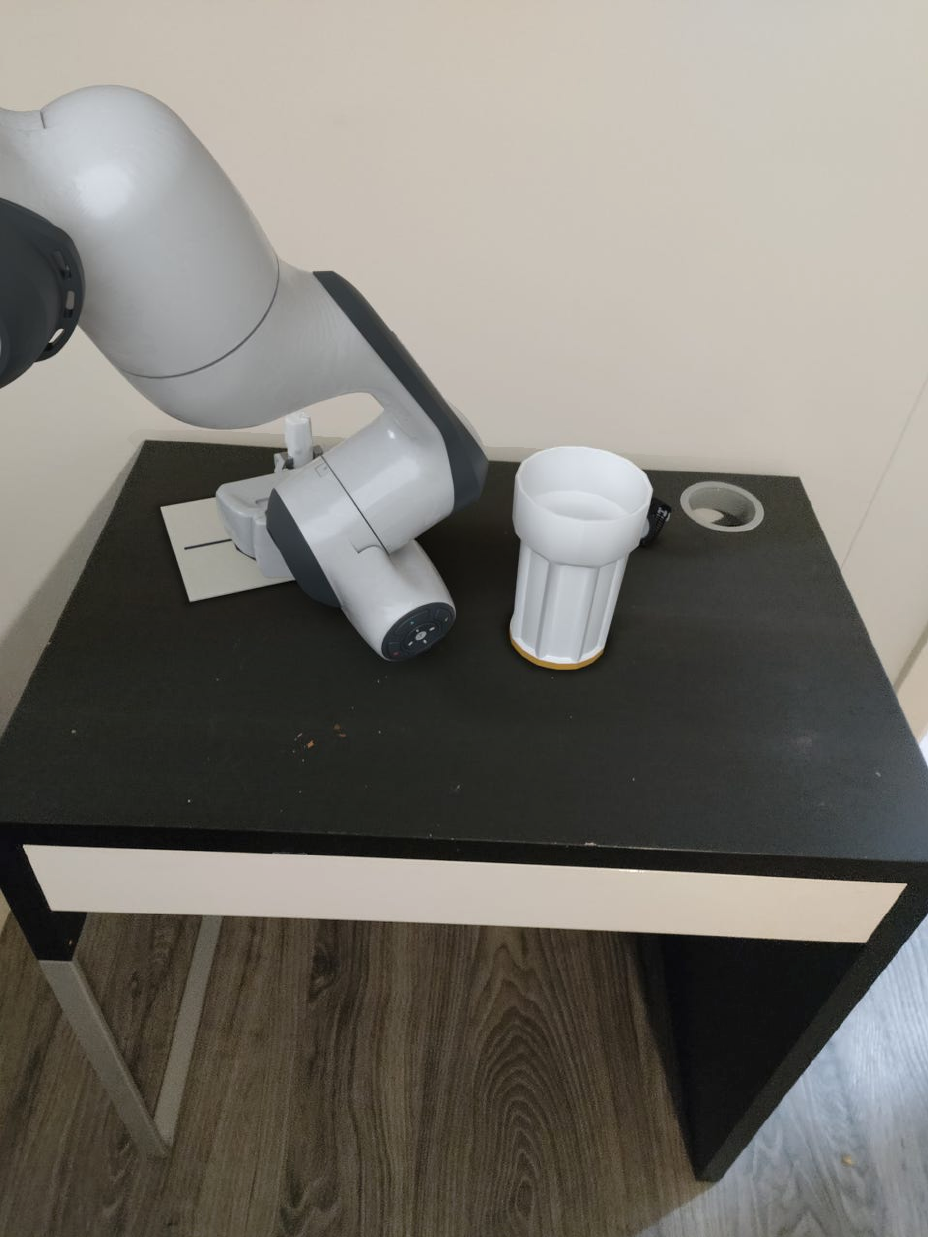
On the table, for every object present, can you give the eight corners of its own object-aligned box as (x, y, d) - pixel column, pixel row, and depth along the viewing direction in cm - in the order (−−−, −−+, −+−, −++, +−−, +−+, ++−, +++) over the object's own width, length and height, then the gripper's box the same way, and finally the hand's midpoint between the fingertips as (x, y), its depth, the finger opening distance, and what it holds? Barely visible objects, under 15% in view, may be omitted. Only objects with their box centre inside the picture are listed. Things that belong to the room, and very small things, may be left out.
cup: (615, 603, 92) (649, 451, 80) (619, 685, 83) (658, 529, 72) (500, 591, 92) (518, 438, 80) (493, 672, 83) (512, 514, 72)
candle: (339, 506, 100) (335, 407, 92) (313, 532, 97) (306, 431, 89) (296, 493, 102) (289, 393, 94) (269, 518, 98) (259, 417, 90)
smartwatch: (616, 534, 100) (624, 496, 97) (658, 526, 102) (667, 488, 98) (634, 557, 97) (643, 518, 94) (677, 549, 99) (687, 510, 95)
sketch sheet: (190, 602, 88) (189, 599, 88) (160, 508, 99) (160, 506, 98) (389, 559, 95) (389, 557, 94) (341, 476, 105) (341, 473, 105)
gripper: (450, 477, 88) (391, 408, 97) (239, 526, 81) (196, 447, 89) (447, 530, 92) (391, 460, 101) (246, 582, 85) (204, 501, 94)
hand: (298, 454), depth 95 cm, fingers closed on candle, 2 cm apart
